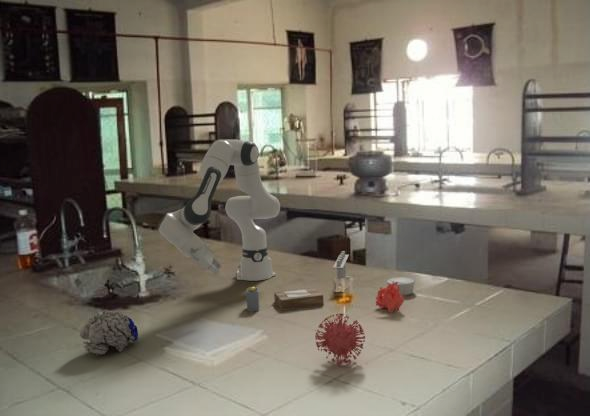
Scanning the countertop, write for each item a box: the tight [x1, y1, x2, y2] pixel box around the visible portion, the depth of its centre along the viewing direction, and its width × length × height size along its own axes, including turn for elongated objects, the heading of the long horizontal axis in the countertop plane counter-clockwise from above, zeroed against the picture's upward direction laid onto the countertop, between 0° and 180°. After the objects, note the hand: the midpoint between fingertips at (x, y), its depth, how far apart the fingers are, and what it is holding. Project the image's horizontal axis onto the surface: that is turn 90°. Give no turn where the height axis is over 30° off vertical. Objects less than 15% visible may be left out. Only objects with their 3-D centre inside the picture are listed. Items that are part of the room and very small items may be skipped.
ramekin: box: [386, 276, 415, 297], centre depth 260 cm, size 11×11×5 cm
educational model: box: [79, 309, 139, 357], centre depth 208 cm, size 14×20×15 cm
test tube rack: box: [332, 250, 351, 292], centre depth 276 cm, size 25×4×13 cm, turn 169°
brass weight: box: [248, 286, 257, 292], centre depth 246 cm, size 3×3×2 cm
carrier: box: [245, 287, 260, 312], centre depth 247 cm, size 6×4×8 cm
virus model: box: [314, 313, 366, 365], centre depth 188 cm, size 15×15×15 cm
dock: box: [273, 287, 325, 311], centre depth 251 cm, size 12×17×4 cm
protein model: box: [375, 282, 405, 314], centre depth 238 cm, size 9×12×12 cm
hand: (219, 270), depth 245 cm, fingers open, 8 cm apart
